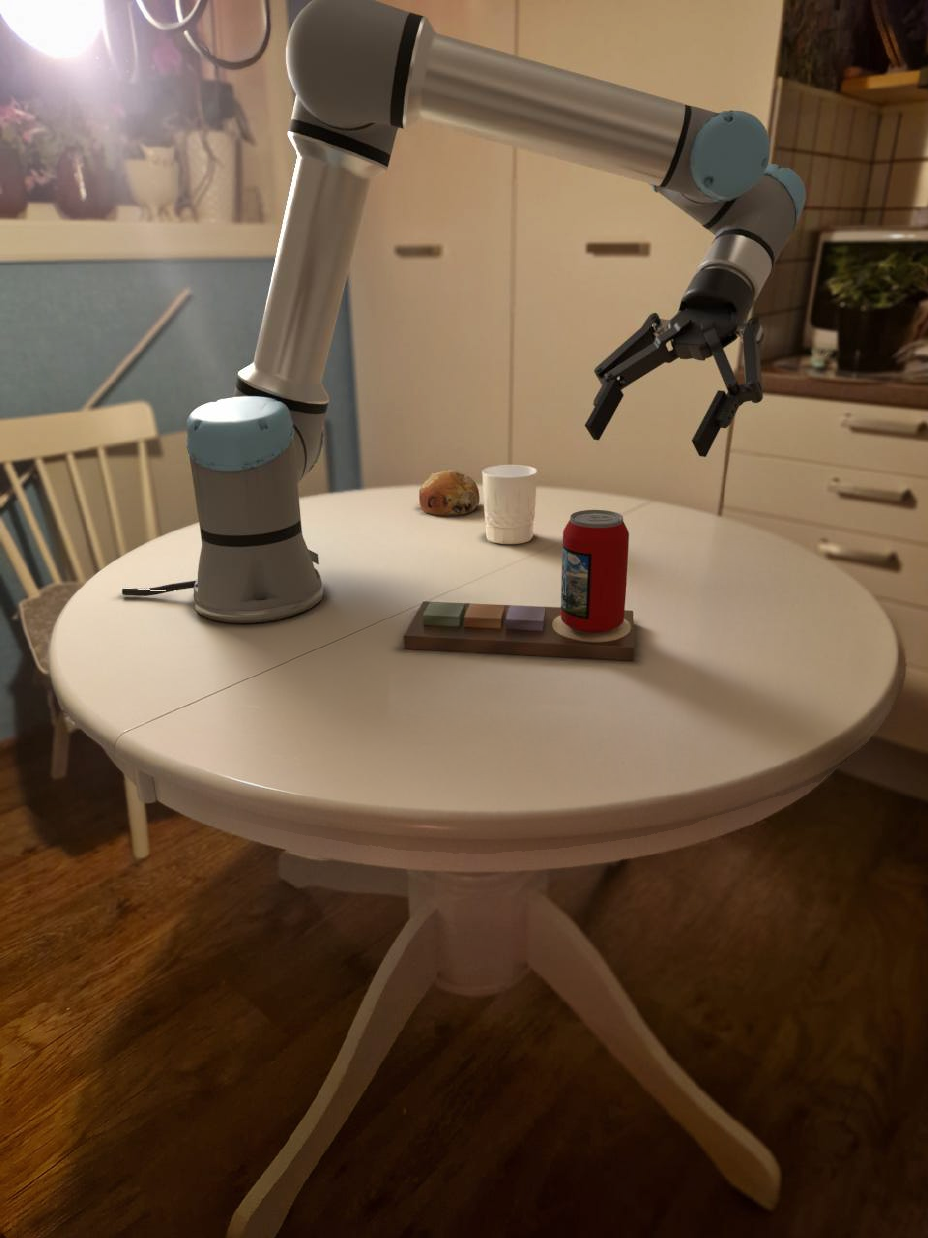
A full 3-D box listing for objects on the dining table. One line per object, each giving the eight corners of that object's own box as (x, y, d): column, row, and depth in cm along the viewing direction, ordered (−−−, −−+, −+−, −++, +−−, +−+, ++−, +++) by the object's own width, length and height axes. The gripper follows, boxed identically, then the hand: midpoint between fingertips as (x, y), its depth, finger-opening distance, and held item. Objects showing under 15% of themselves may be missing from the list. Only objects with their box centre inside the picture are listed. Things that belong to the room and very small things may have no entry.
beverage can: (555, 614, 96) (558, 508, 91) (615, 611, 96) (621, 506, 91) (566, 639, 89) (569, 527, 85) (630, 636, 90) (637, 524, 85)
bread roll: (478, 522, 147) (476, 475, 147) (482, 512, 137) (480, 462, 137) (420, 524, 146) (418, 477, 147) (420, 514, 136) (418, 464, 137)
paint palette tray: (403, 648, 92) (402, 625, 91) (423, 612, 101) (422, 591, 100) (633, 661, 88) (635, 636, 87) (632, 622, 97) (633, 600, 96)
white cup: (536, 530, 130) (538, 464, 126) (535, 546, 123) (536, 477, 119) (484, 529, 131) (484, 464, 127) (480, 545, 124) (479, 476, 120)
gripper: (839, 316, 93) (758, 477, 89) (641, 309, 109) (565, 446, 105) (826, 263, 88) (740, 433, 84) (620, 264, 104) (538, 407, 100)
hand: (642, 440), depth 94 cm, fingers open, 13 cm apart
